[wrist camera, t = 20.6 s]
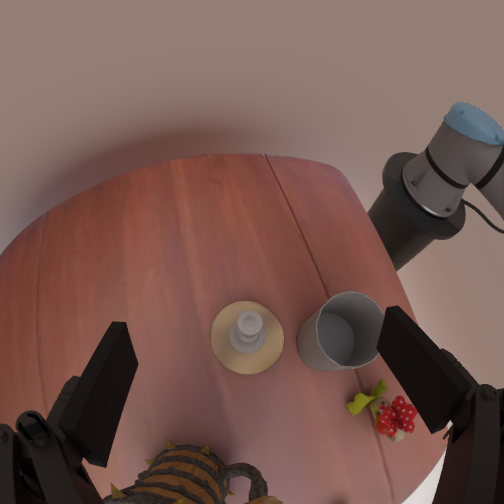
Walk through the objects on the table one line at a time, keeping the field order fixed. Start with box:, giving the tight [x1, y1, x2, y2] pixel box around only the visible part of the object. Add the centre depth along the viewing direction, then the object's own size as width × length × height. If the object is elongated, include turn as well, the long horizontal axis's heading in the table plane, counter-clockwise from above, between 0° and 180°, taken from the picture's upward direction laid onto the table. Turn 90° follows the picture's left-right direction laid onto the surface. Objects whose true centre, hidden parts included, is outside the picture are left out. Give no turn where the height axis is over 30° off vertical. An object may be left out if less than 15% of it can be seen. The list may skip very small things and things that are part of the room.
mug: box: [103, 440, 283, 504], centre depth 18 cm, size 13×17×20 cm
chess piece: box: [229, 310, 266, 354], centre depth 28 cm, size 4×4×10 cm
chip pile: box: [210, 301, 284, 374], centre depth 34 cm, size 10×9×3 cm
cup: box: [296, 291, 385, 372], centre depth 31 cm, size 8×8×10 cm
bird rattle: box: [346, 379, 418, 442], centre depth 27 cm, size 6×11×9 cm
